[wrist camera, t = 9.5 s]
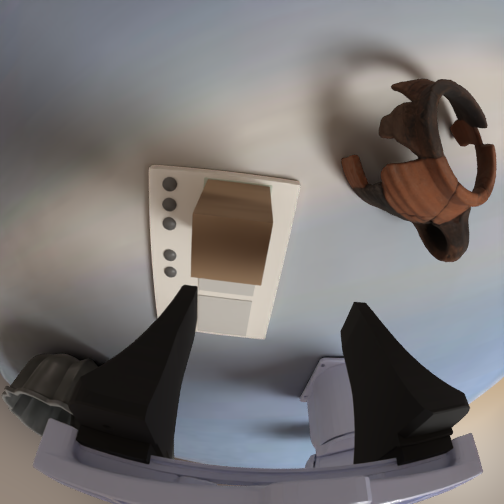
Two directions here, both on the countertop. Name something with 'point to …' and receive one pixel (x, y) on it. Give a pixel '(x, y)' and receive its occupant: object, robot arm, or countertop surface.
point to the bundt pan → (47, 390)
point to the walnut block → (231, 232)
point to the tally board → (179, 250)
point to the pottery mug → (429, 167)
